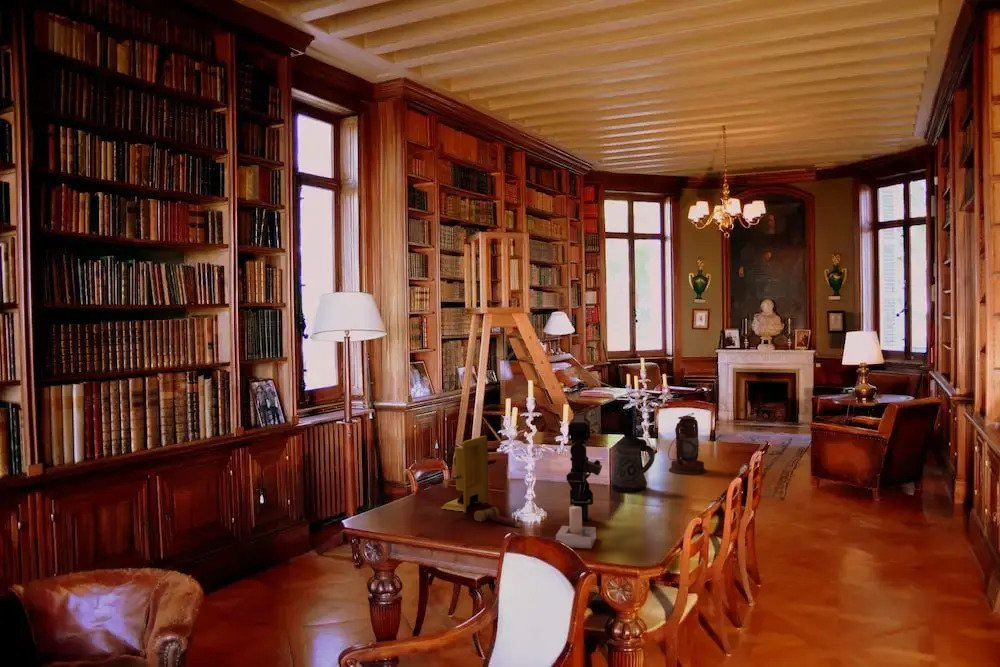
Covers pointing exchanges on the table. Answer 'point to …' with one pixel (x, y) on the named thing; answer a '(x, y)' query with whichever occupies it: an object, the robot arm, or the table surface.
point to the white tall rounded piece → (575, 520)
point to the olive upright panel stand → (470, 474)
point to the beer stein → (631, 465)
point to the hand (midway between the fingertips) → (579, 495)
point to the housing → (577, 537)
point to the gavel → (494, 517)
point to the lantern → (687, 448)
